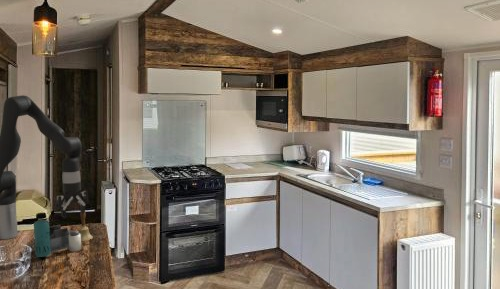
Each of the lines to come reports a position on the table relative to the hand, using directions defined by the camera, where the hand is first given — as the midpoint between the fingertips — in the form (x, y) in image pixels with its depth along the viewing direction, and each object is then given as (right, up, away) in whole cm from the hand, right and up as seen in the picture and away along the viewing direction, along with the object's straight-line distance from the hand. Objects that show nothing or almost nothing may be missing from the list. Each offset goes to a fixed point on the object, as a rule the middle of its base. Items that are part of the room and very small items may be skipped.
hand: (73, 215), depth 197 cm
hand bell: (-2, -14, +17) cm, 22 cm away
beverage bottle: (-10, -17, -8) cm, 21 cm away
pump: (0, -16, +2) cm, 16 cm away
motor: (-10, -16, +3) cm, 19 cm away
